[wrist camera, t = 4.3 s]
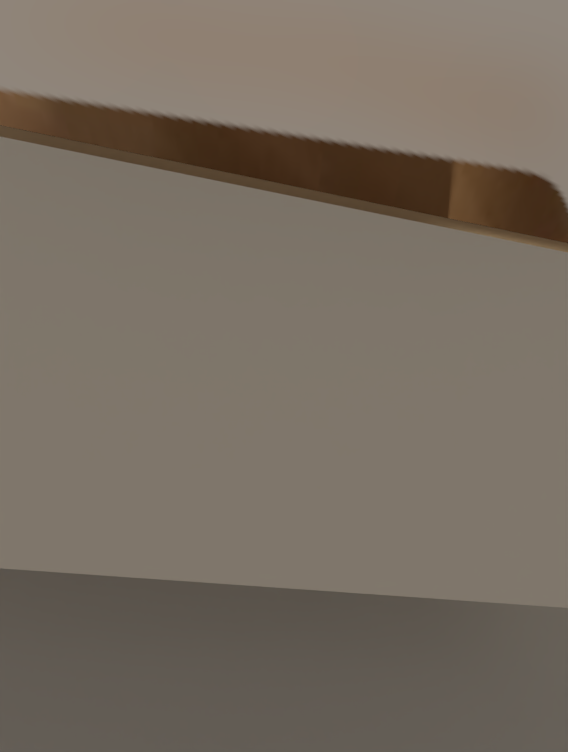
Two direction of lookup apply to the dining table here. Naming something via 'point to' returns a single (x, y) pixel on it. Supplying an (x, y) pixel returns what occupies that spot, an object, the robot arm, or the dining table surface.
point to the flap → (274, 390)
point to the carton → (274, 187)
